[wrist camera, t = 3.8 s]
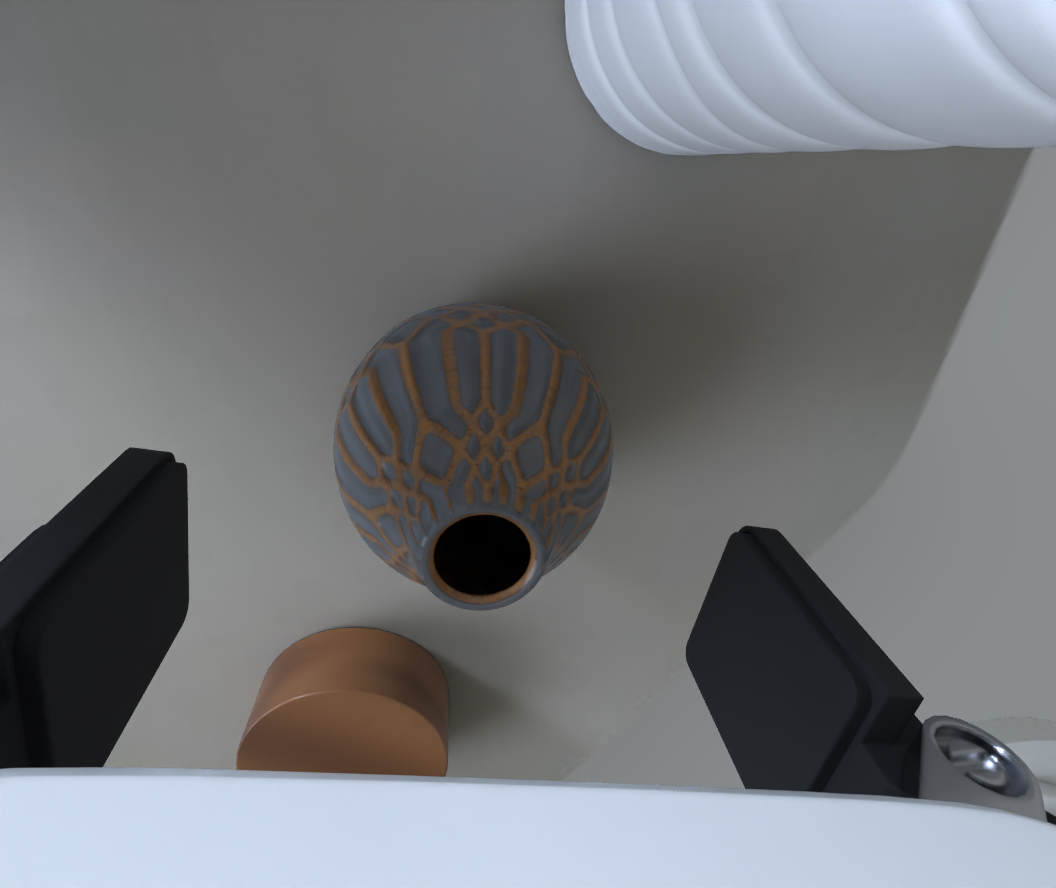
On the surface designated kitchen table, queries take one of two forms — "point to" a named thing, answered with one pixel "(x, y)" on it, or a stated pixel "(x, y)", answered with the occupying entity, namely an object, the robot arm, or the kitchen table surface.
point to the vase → (473, 452)
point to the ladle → (350, 708)
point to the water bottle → (818, 73)
